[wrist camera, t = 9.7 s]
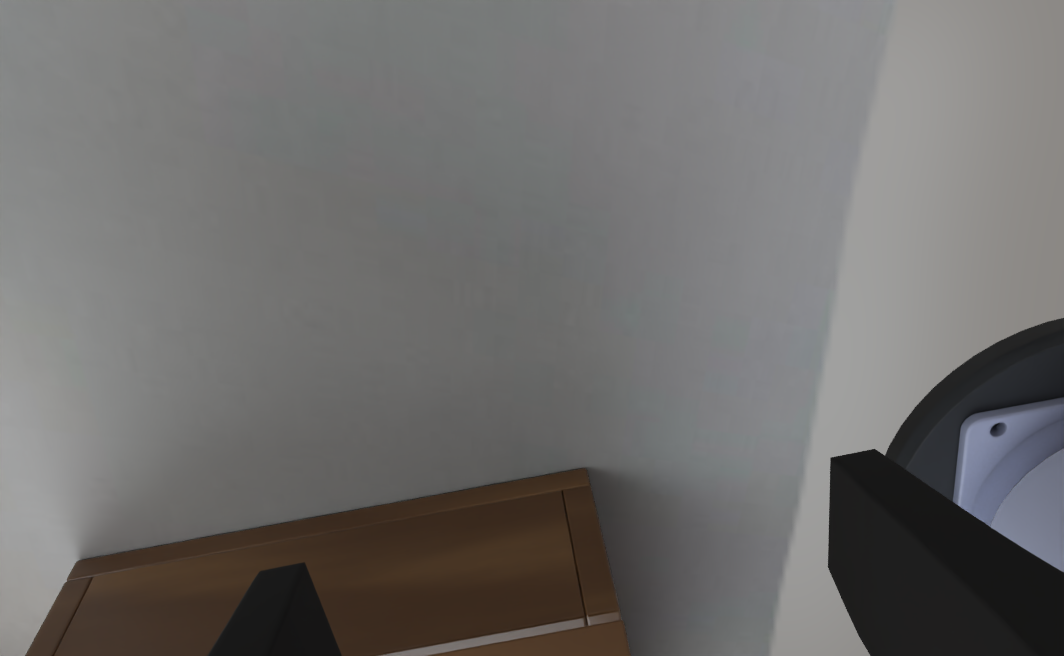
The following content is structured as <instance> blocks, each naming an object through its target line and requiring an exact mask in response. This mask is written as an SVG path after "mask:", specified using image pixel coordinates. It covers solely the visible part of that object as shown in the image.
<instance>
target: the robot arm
mask: <svg viewBox="0 0 1064 656" xmlns="http://www.w3.org/2000/svg"><path fill="white" fill-rule="evenodd" d="M997 423H999V424H998V425H997V426H996V427H995V428H992V427H993V426H994V425H995V424H997ZM991 428H992V429H991ZM830 470H831V471H830V509H829V510H830V511H829V552H828V555H829V556H828V568H829V570H830V573H831V575H832V577H833V580H834V582H835V584H836V586H837V589H838V591H839V593H840V596H841V598H842V600H843V602H844V604H845V607H846V609H847V611H848V613H849V616H850V618H851V620H852V622H853V624H854V626H855V628H856V630H857V633H858V635H859V637H860V638H861V640H862V642H863V644H864V645H865V647H866V649H867V650H868V652H869V654H870V656H1064V397H1062V398H1057V399H1051V400H1046V401H1040V402H1035V403H1029V404H1024V405H1018V406H1013V407H1007V408H1002V409H997V410H991V411H986V412H980V413H976V414H973V415H971V416H969V417H968V418H967V419H966V420H965V421H964V422H963V423H962V426H961V429H960V438H959V448H958V457H957V467H956V476H955V486H954V495H953V502H952V501H950V500H949V499H947V498H946V497H944V496H943V495H941V494H940V493H939V492H937V491H936V490H934V489H933V488H931V487H930V486H928V485H927V484H925V483H924V482H922V481H921V480H920V479H918V478H917V477H915V476H914V475H912V474H911V473H909V472H908V471H906V470H905V469H904V468H902V467H901V466H899V465H898V464H896V463H895V462H893V461H892V460H890V459H889V458H887V457H886V456H884V455H883V454H881V453H880V452H878V451H877V450H875V449H872V450H867V451H862V452H858V453H852V454H847V455H842V456H837V457H832V458H831V466H830ZM207 656H342V655H341V652H340V650H339V647H338V645H337V642H336V640H335V637H334V635H333V632H332V630H331V627H330V624H329V622H328V619H327V617H326V614H325V612H324V609H323V607H322V604H321V602H320V599H319V597H318V594H317V592H316V589H315V587H314V584H313V582H312V579H311V576H310V574H309V571H308V569H307V566H306V564H305V562H302V563H297V564H292V565H287V566H282V567H277V568H272V569H267V570H262V571H259V573H258V574H257V576H256V577H255V578H254V580H253V581H252V583H251V585H250V586H249V588H248V590H247V591H246V593H245V594H244V596H243V598H242V599H241V601H240V603H239V604H238V606H237V608H236V609H235V611H234V613H233V614H232V616H231V618H230V619H229V621H228V623H227V624H226V626H225V628H224V629H223V631H222V632H221V634H220V636H219V637H218V639H217V641H216V642H215V644H214V645H213V647H212V649H211V650H210V652H209V654H208V655H207Z"/></svg>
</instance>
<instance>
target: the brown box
mask: <svg viewBox="0 0 1064 656" xmlns="http://www.w3.org/2000/svg"><path fill="white" fill-rule="evenodd" d="M427 656H631V653H630V648H629V644H628V639H627V634H626V629H625V624H624V622H623V620H617V621H612V622H606V623H601V624H595V625H590V626H585V627H579V628H574V629H568V630H563V631H557V632H552V633H546V634H541V635H536V636H530V637H525V638H519V639H514V640H508V641H503V642H497V643H492V644H487V645H481V646H476V647H470V648H465V649H459V650H454V651H448V652H443V653H438V654H432V655H427Z"/></svg>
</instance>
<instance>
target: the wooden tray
mask: <svg viewBox="0 0 1064 656" xmlns="http://www.w3.org/2000/svg"><path fill="white" fill-rule="evenodd" d="M302 562H305V564H306V566H307V569H308V571H309V574H310V576H311V579H312V582H313V584H314V587H315V589H316V592H317V594H318V597H319V599H320V602H321V604H322V607H323V609H324V612H325V614H326V617H327V619H328V622H329V624H330V627H331V630H332V632H333V635H334V637H335V640H336V642H337V645H338V647H339V650H340V652H341V655H342V656H427V655H432V654H438V653H443V652H448V651H454V650H459V649H465V648H470V647H476V646H481V645H487V644H492V643H497V642H503V641H508V640H514V639H519V638H525V637H530V636H536V635H541V634H546V633H552V632H557V631H563V630H568V629H574V628H579V627H585V626H590V625H595V624H601V623H606V622H612V621H617V620H622V618H621V612H620V607H619V602H618V598H617V594H616V590H615V585H614V581H613V577H612V573H611V569H610V564H609V560H608V556H607V552H606V547H605V543H604V539H603V535H602V531H601V526H600V522H599V518H598V514H597V509H596V505H595V501H594V497H593V493H592V488H591V484H590V480H589V476H588V472H587V470H586V469H585V468H582V469H576V470H571V471H565V472H560V473H554V474H549V475H544V476H538V477H533V478H527V479H522V480H516V481H511V482H505V483H500V484H494V485H489V486H483V487H478V488H472V489H467V490H462V491H456V492H451V493H445V494H440V495H434V496H429V497H423V498H418V499H412V500H407V501H401V502H396V503H391V504H385V505H380V506H374V507H369V508H363V509H358V510H352V511H347V512H341V513H336V514H330V515H325V516H319V517H314V518H309V519H303V520H298V521H292V522H287V523H281V524H276V525H270V526H265V527H259V528H254V529H248V530H243V531H238V532H232V533H227V534H221V535H216V536H210V537H205V538H199V539H194V540H188V541H183V542H177V543H172V544H166V545H161V546H156V547H150V548H145V549H139V550H134V551H128V552H123V553H117V554H112V555H106V556H101V557H95V558H90V559H85V560H79V561H77V562H76V563H75V565H74V567H73V569H72V571H71V572H70V574H69V576H68V578H67V582H66V583H65V584H64V585H63V587H62V589H61V591H60V593H59V595H58V596H57V598H56V600H55V602H54V604H53V606H52V607H51V609H50V611H49V613H48V615H47V617H46V619H45V620H44V622H43V624H42V626H41V628H40V630H39V631H38V633H37V635H36V637H35V639H34V641H33V642H32V644H31V646H30V648H29V650H28V652H27V654H26V655H25V656H207V655H208V654H209V652H210V650H211V649H212V647H213V645H214V644H215V642H216V641H217V639H218V637H219V636H220V634H221V632H222V631H223V629H224V628H225V626H226V624H227V623H228V621H229V619H230V618H231V616H232V614H233V613H234V611H235V609H236V608H237V606H238V604H239V603H240V601H241V599H242V598H243V596H244V594H245V593H246V591H247V590H248V588H249V586H250V585H251V583H252V581H253V580H254V578H255V577H256V576H257V574H258V573H259V571H262V570H267V569H272V568H277V567H282V566H287V565H292V564H297V563H302Z"/></svg>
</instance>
